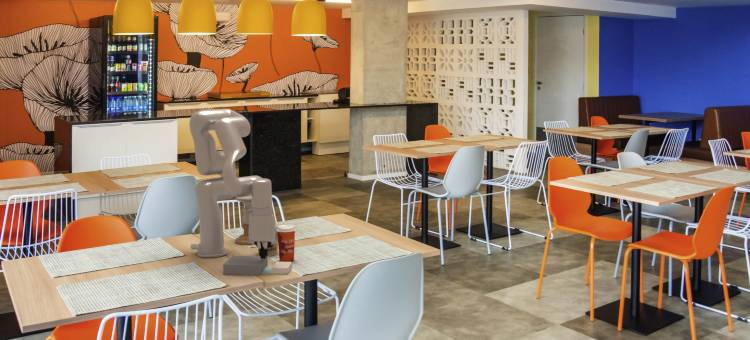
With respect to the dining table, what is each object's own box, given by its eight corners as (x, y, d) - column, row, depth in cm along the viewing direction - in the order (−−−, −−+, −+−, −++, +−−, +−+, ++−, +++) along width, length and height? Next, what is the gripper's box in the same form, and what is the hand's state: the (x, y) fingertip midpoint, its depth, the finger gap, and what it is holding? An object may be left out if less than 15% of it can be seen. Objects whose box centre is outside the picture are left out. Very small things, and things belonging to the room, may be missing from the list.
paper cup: (283, 264, 303) (282, 229, 301) (273, 260, 310) (272, 226, 307) (300, 261, 308) (299, 227, 306) (290, 257, 314) (289, 223, 312)
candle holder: (250, 237, 349) (249, 193, 346) (269, 241, 341) (267, 196, 338) (229, 242, 339) (227, 197, 336) (248, 246, 332) (246, 200, 329)
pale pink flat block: (287, 268, 289) (287, 273, 290) (292, 261, 298) (292, 266, 299) (271, 268, 290) (271, 273, 290) (276, 261, 299) (276, 266, 299)
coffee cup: (259, 257, 314) (258, 229, 312) (254, 252, 322) (253, 224, 320) (281, 255, 317) (281, 226, 315) (276, 250, 326) (275, 222, 324)
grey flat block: (223, 274, 290) (223, 264, 289) (232, 265, 303) (232, 255, 302) (259, 275, 289) (259, 265, 288) (267, 265, 301) (267, 255, 301)
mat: (261, 273, 291) (261, 273, 291) (267, 266, 300) (267, 265, 300) (284, 274, 290) (284, 273, 290) (289, 267, 300) (289, 266, 300)
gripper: (240, 213, 288) (241, 260, 291) (279, 213, 287) (280, 261, 290) (245, 209, 296) (246, 255, 299) (283, 209, 295) (284, 256, 297)
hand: (263, 258), depth 294 cm, fingers closed
